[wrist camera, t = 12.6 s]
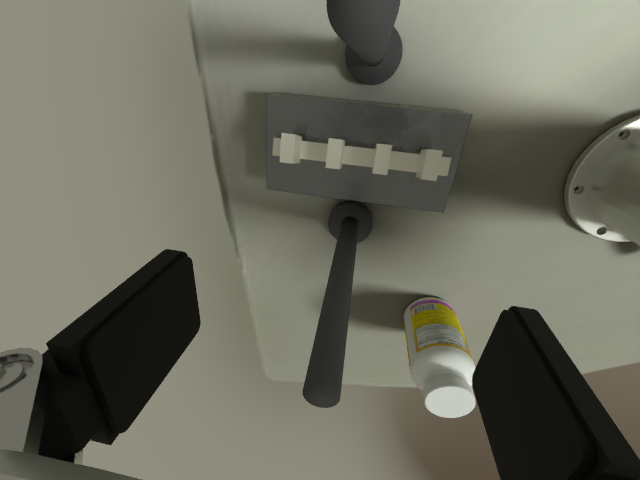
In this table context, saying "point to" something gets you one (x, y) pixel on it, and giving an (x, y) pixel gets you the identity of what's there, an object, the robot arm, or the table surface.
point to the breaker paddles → (361, 156)
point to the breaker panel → (364, 131)
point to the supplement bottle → (439, 357)
